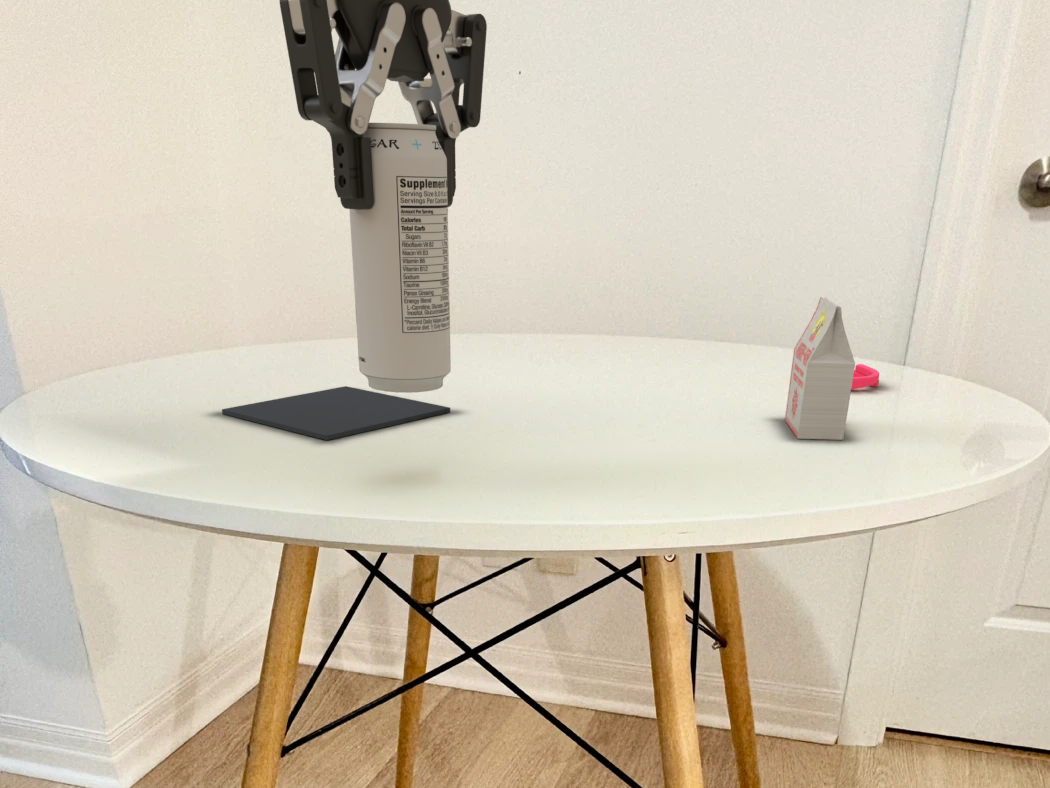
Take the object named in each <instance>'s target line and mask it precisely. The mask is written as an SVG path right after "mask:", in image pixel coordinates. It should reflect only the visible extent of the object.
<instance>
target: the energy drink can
mask: <svg viewBox="0 0 1050 788" xmlns="http://www.w3.org/2000/svg"><path fill="white" fill-rule="evenodd" d="M435 131H436V126H435V125H425V124H418V123H402V122H401V123H400V122H399V123H397V122H369V124H368V127H367V130H366V132H365V133H364V134H363V137H371V155H372V174H373V194H374V204H373V207H372V208H371V209H369V210H357V209H348V210H349V225H350V241H351V242H350V243H351V257H352V259H351V260H352V273H353V274H352V275H353V286H354V287H353V289H354V307H355V322H356V338H357V355H358V356H357V357H358V371H359V372H360V373H361V374H362V375H363V376H364V377H365V378H366V379H367V381H368V382H367V384H368V387H369V388H371V389H373V390H375V391H379V392H380V391H381V392H387V393H404V394H405V393H407V394H408V393H409V394H411V393H425V392H432V391H436V390H439V389H441V388H442V387H444V379H445V377H446V376H447V375H449V374H450V373H451V371H452V363H451V360H452V359H451V358H452V357H451V312H450V304H451V303H450V255H449V254H450V253H449V207H448V197H447V158H446V156H445V154H444V152H443V149H442V147H441V145H440V143H439V141H438V139H437V137H436V134H435Z"/></svg>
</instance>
